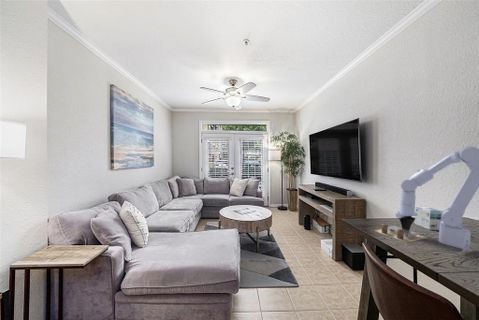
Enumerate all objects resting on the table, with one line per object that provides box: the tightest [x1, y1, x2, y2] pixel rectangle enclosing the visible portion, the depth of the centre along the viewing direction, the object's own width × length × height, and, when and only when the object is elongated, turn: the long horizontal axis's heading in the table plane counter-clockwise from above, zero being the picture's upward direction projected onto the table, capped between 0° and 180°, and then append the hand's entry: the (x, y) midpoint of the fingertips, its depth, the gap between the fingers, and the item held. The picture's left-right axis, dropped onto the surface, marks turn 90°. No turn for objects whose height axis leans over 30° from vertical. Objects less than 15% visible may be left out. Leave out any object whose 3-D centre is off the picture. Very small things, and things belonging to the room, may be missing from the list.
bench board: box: [373, 223, 427, 243], centre depth 104 cm, size 15×16×5 cm
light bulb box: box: [413, 205, 443, 231], centre depth 121 cm, size 11×7×11 cm, turn 179°
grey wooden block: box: [387, 225, 418, 239], centre depth 104 cm, size 10×7×2 cm
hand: (405, 231), depth 106 cm, fingers closed
